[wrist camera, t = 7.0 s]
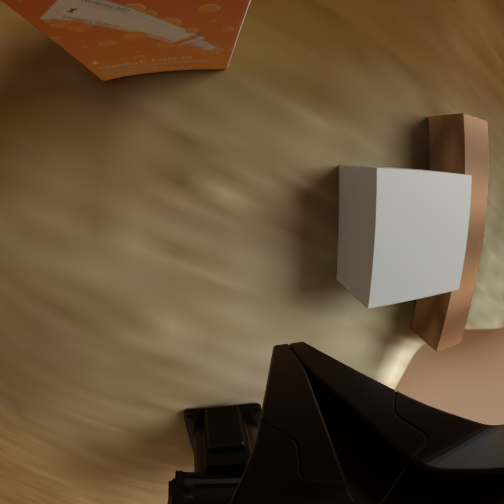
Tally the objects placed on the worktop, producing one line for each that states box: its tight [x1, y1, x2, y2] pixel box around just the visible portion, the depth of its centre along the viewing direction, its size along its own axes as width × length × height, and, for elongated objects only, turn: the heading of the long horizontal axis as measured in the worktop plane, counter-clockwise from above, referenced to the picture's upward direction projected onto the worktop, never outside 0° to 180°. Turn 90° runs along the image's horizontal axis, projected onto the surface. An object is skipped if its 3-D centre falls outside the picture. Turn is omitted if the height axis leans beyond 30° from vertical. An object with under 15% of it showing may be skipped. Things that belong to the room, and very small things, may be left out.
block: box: [336, 165, 472, 309], centre depth 19 cm, size 8×8×5 cm
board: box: [411, 114, 489, 352], centre depth 20 cm, size 18×3×4 cm, turn 2°
